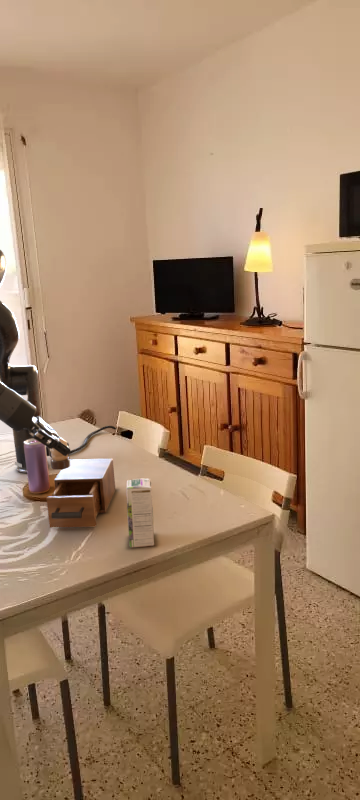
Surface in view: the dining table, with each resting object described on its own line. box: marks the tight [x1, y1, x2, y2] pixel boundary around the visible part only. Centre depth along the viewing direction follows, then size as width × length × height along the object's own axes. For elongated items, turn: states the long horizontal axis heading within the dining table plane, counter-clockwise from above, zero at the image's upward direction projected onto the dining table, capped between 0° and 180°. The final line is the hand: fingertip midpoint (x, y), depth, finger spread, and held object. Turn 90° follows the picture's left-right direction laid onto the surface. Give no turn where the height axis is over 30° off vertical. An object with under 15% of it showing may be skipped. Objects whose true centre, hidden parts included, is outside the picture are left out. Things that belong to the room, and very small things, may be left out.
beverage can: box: [24, 438, 51, 495], centre depth 175 cm, size 6×6×15 cm
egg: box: [50, 437, 71, 471], centre depth 153 cm, size 5×5×7 cm
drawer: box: [46, 481, 102, 528], centre depth 154 cm, size 19×11×8 cm, turn 176°
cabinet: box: [53, 457, 116, 514], centre depth 166 cm, size 16×13×10 cm
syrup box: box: [126, 478, 155, 549], centre depth 141 cm, size 6×6×14 cm
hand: (67, 450), depth 154 cm, fingers closed on egg, 4 cm apart
